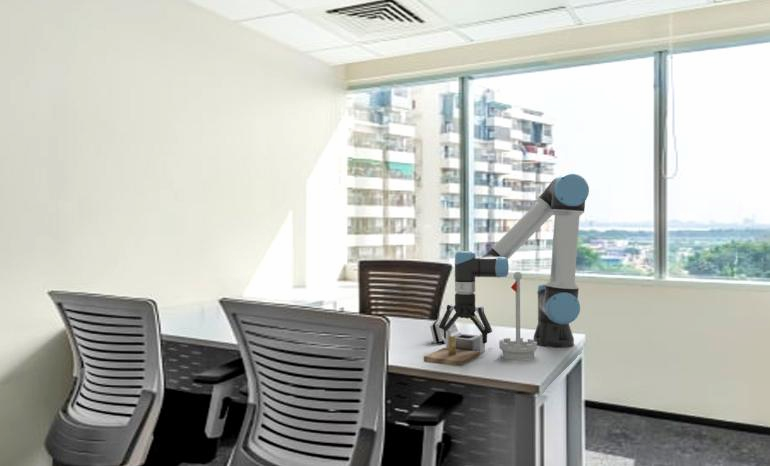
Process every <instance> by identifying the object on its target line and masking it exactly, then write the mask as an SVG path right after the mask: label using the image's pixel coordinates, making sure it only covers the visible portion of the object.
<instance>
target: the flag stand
mask: <svg viewBox="0 0 770 466" xmlns="http://www.w3.org/2000/svg"><path fill="white" fill-rule="evenodd" d="M522 277H523V275H522V273H521V272H520V271H515V272H514V273H513V279H514V280H515V281H514V282H513V284H512V285H511V287H510V288H511V289H512V290H513V291H514V292H515V340H511V338H510V337H507V338H506V337H504V338H503V339H500V340H499V342H498V344H499V345H498V346H499V348H498V349H500V351H502V352H501V353H502V354H501V355H502V356H501V357H503V358H504V359H508V360H514V361H528V360H533V359H535V352H536V351H537V350H538V345H537V342H534V340H533V338H532V339H531V338H527V341H524V338H523V337H521V280H522Z"/></svg>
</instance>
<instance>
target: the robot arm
mask: <svg viewBox="0 0 770 466" xmlns="http://www.w3.org/2000/svg"><path fill="white" fill-rule="evenodd" d="M589 193H590V187H589V184H588V181H587V180H586V179H585V178H584V177H583V176H581V175H579V174H577V173H572V172H571V173H564V174H562V175H559V176H558V177H555V178H554V179H553V180H552V181H550V183H549V185H547V187H546V188H545V190H544V191H542V193H541V194H540V195H539V196H538V198H537V202H536V203H535V204H534V205H533V206H532V207H531V208H530V209H529V210H528V211H527V212H526V213H525V214H524V215H523V216H522V217H521V218H520V219H519V220H518V221H517V222H516V223H515V224H514V225H513V226H512V228H510V229H509V230H508V231H507V232H506V233H504V235H503V236H502V237H501V238H500V240H498V242H496V244H494V245H493V246H492V247H491V249H489V250H488V251H487V253H486V254H484V255H482V256H477V255H476V252H475V251H470V250H469V251H468V250H467V251H466V250H460V251H457V252H455V255H454V292H455V294H454V304H452V303H449V304H447V305H446V311H445V313H444V315H443V317H442V318H443V319H442V321H441V323H440V325H439V328H441V329H443V330H444V339H446V344H445V348H449V337H450V336H451V330H448V329H449V328H450V327H451V326H452V325H453V323H454V322H455V323H456V321H457V320H458V319H459V318H460V319H470V320H471V321H472V322H473V324H474V325H475V327H476V328H477V329H478V330H479V332H480V333H481V334H479V336H480V350H479V352H480V354H482V353H484V352H485V351H486V348H485V347H486V345H485V344H487V342H488V334H490V333H493V329H492V327H491V324H490V322H489V320H488V318H487V315H486V313H485V309H484V307H483V306H477V307H476V278H498V279H499V278H507V277H508V275H509V267H510V266H509V259H510V258H511V257H512V256H513V255H515V253H516V252H517V251H518V250H519V249H520V248H521V247H522V246H523V245H524V244H525V243H526V242H527V241H528V240H529V239H531V237H532V236H533V235H534V234H535V233H536V232H537V231H538V230H539V229H540V228H541V227H542V226H543V225H544V224H545V223H546V222H547V221H548V220H549V219H550V218H551V217H553V216H554V222H553V224H554V225H553V236H552V237H553V238H552V249H551V250H552V252H551V263H550V275H549V276H550V278H549V281H548V282H547V283H545V284H539V285H538V287H537V291H536V293H537V325H536V327H535V331H534V334H533V338H532V340H534V342H537V346H541V347H546V348H547V347H549V348H568V347H571V346H574V344H575V338H574V335H573V331H572V328H571V326H570V324H571V323H572V322H574V321H575V320H576V319H577V318H578V317H579V315H580V313H581V305H580V301H579V288H580V287H579V286H578V285H577V283H576V269H577V268H576V266H577V257H578V256H577V254H578V242H579V241H578V240H579V231H580V229H579V228H580V217H581V216H582V215H583V214H584V213H585V207H586V201H587V199H588V197H589ZM453 310H454V311H455V313H454V314H453V316H452V317H451V314H452V312H453ZM476 313H477V314H478V316H477V314H476ZM449 317H451V318H452V319H451V320H450V321H449V322H448V323H447V324H446V322H447V320H448V318H449ZM478 317H479V318H478ZM479 319H480V320H479ZM445 325H446V326H445Z"/></svg>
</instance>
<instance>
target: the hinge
mask: <svg viewBox="0 0 770 466" xmlns="http://www.w3.org/2000/svg"><path fill="white" fill-rule="evenodd" d="M442 319H443V317H441V318H438V319H436V320H434V321H433V322H432V323H431V325H429V326H430V327H429V328H430V332H431V336H432V339H433V343H434V344H437V343H439V342H443V344H444V345H446V339H444V330H443V329H441V328H439V325H440V323H441V321H442ZM451 319H452V317H451V316H449V318H448V320H447V322H446V324H447V323H448V322H449V321H450V320H451ZM456 325H457V324H456V321H455V322H454V323H453V325H452V326H451V327H450V328H449V329H448V330H451V336H455V335H457V334H462V332H460V331H459V330H458V328H457V326H456ZM445 326H446V325H445Z"/></svg>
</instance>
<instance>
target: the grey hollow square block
mask: <svg viewBox="0 0 770 466" xmlns="http://www.w3.org/2000/svg"><path fill="white" fill-rule="evenodd" d="M454 337H456V349H461V350H469V351H478V352H480V334H479V335H477V334H469V333H468V334H467V333H461V334H457V335H455V336H454Z"/></svg>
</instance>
